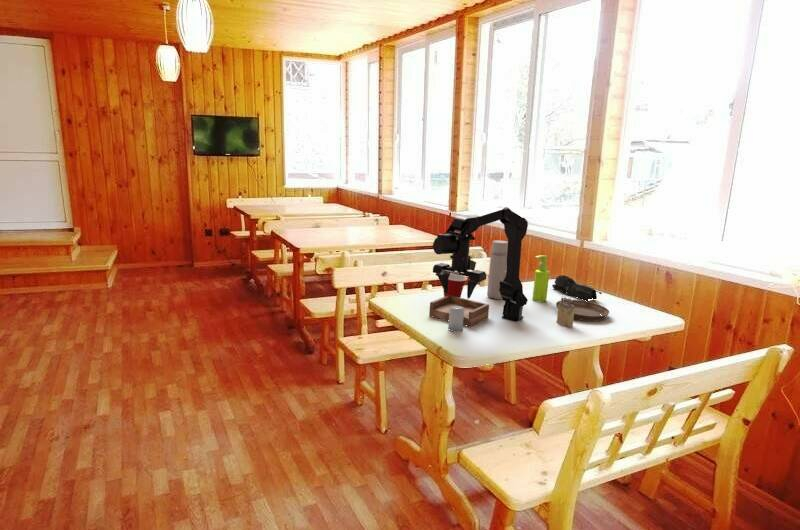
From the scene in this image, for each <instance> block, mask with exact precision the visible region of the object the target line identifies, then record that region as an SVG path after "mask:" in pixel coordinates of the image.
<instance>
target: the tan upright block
mask: <svg viewBox="0 0 800 530" xmlns="http://www.w3.org/2000/svg"><path fill="white" fill-rule="evenodd" d="M563 300H564V302H563ZM572 300H573V299H572V298H567V297H561V299H560V301H561V302H559V307H558V308H557V316H556V317H557V318H556V323H557V324H559V325H561V326H564V327H567V328H572V327H573V324H574V311H575V309H574V308H575V306H574V305H572V304H570V303H573V301H572ZM566 301H567V302H568V303H567V302H566Z"/></svg>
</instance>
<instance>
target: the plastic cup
mask: <svg viewBox="0 0 800 530" xmlns="http://www.w3.org/2000/svg"><path fill="white" fill-rule="evenodd" d="M466 281H468V278H467V276H463V275H458V274H453V273H450V275H449V278H448V292H447V293H445V292H444V289H443V288H442V290H443V297H445V296H448V295H451V296H455V297H459V298H462V293H463V290H464V287H465V283H466Z"/></svg>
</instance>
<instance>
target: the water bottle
mask: <svg viewBox="0 0 800 530" xmlns="http://www.w3.org/2000/svg"><path fill="white" fill-rule="evenodd" d="M507 249H508V241H506V240H501V239H500V240H498V239H497V240H492V243H491V248H490V257H489V269H488V279H487V282H488V283H487V292H486V295H487V298H489V297H490V298H489V299H491V298H494V299H493V300H502V297H501V295H500V291H499V288H500V281H503V280H504V278H505V277H506V265H507Z"/></svg>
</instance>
